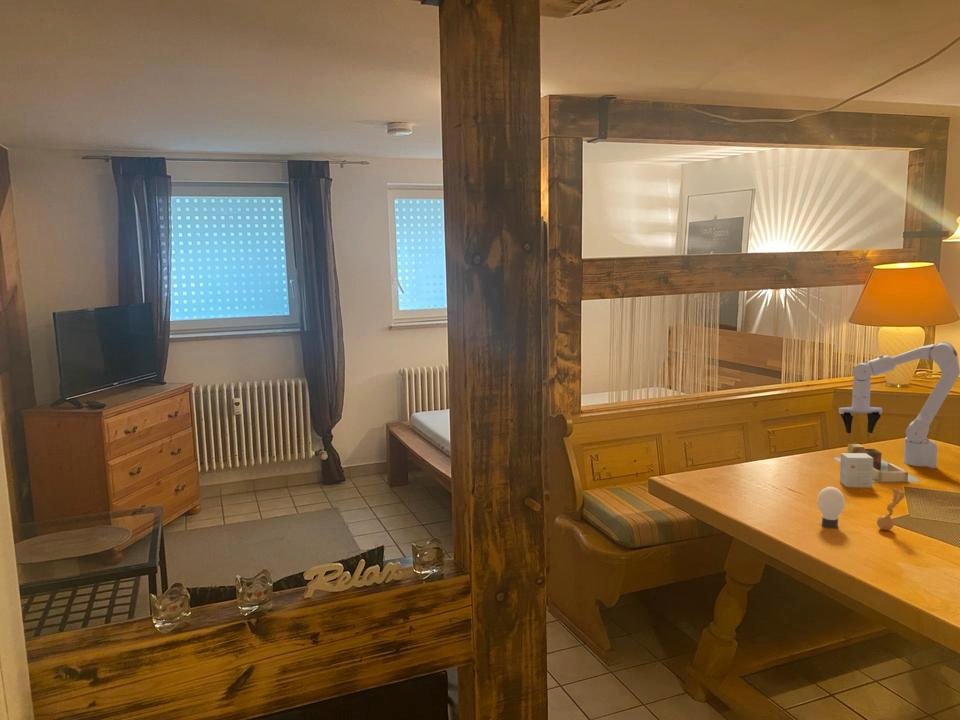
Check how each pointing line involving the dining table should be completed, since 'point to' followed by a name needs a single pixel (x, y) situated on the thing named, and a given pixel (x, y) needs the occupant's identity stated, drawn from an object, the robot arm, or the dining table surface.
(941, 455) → the dining table surface
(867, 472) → the small box
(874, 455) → the walnut block with tether
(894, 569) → the dining table surface
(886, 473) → the shelf board with lane
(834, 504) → the light bulb
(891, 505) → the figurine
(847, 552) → the dining table surface
